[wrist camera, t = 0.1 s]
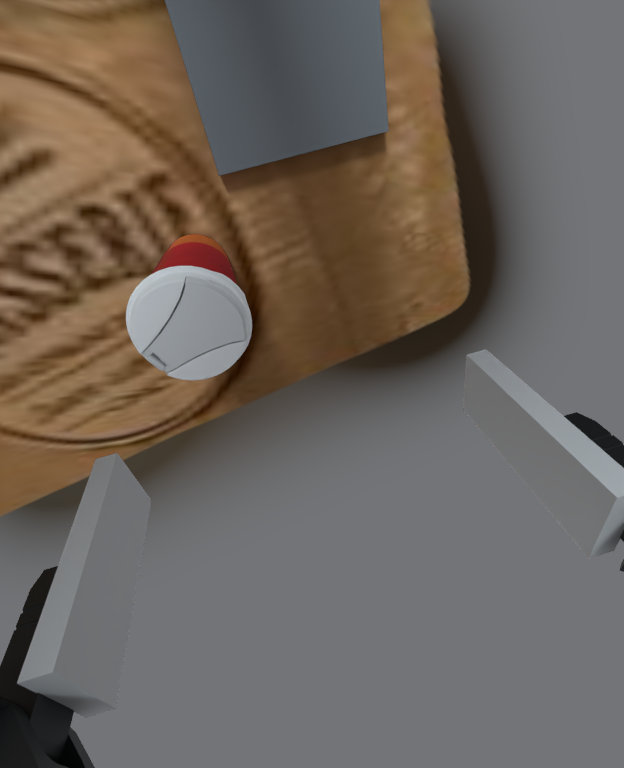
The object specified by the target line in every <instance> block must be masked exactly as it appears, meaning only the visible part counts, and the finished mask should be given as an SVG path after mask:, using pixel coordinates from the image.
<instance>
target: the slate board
mask: <svg viewBox="0 0 624 768" xmlns="http://www.w3.org/2000/svg"><path fill="white" fill-rule="evenodd" d="M165 3H166V6H167V9H168V12H169V16H170V19H171V22H172V25H173V29H174V32H175V35H176V38H177V41H178V45H179V48H180V51H181V54H182V57H183V61H184V64H185V67H186V70H187V74H188V77H189V80H190V83H191V86H192V90H193V93H194V96H195V99H196V103H197V106H198V109H199V112H200V115H201V119H202V122H203V125H204V128H205V132H206V135H207V138H208V141H209V144H210V148H211V151H212V154H213V157H214V161H215V164H216V167H217V170H218V173H219V176H220V175H224V174H228V173H232V172H235V171H239V170H243V169H247V168H251V167H254V166H258V165H262V164H266V163H270V162H273V161H277V160H281V159H285V158H289V157H292V156H296V155H300V154H304V153H308V152H311V151H315V150H319V149H323V148H327V147H330V146H334V145H338V144H342V143H346V142H349V141H353V140H357V139H361V138H365V137H368V136H372V135H376V134H380V133H384V132H387V131H389V130H388V116H387V102H386V88H385V73H384V59H383V45H382V31H381V17H380V2H379V0H165Z"/></svg>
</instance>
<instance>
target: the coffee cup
mask: <svg viewBox="0 0 624 768" xmlns="http://www.w3.org/2000/svg"><path fill="white" fill-rule="evenodd" d="M126 324H127V329H128V333H129V335H130V338H131V340H132V342H133V344H134V345H135V347H136V349H137V350H138V352H139V354H140V353H141V354H142V356H144V357H145V358H146V360H148V361H149V362H150V363H151V364H153V365H154V366H155V367H157V368H158V369H159V370H163V371H164V372H166V373H167V375H168V376H171V377H174V378H178V379H183V380H201V379H207V378H210V377H214V376H216V375H218V374H221V373H223V372H224V371H226V370H227V369H229V368H230V367H231V366H232V365H233V364H234V363H235V362H236V361H237V360H238V359H239V358H240V356H241V355H242V354H243V353H244V351H245V349H246V348H247V346H248V344H249V341H250V338H251V333H252V318H251V312H250V309H249V307H248V304H247V301H246V297H245V294H244V293H243V292H242V290H241V289H240V288H239V286H237V283H236V280H235V277H234V274H233V270H232V267H231V264H230V262H229V259H228V257H227V255H226V253H225V251H224V250H223V248H222V247H221V246H220V245H219V244H218V243H217V242H216V241H214V240H213V239H211V238H209V237H207V236H204V235H199V234H190V235H186V236H183V237H181V238H179V239H177V240H176V241H175V242H174V243H173V244H172V245H171V246H170V247H169V248H168V250H167V251H166V252H165V254H164V255H163V257H162V258H161V260H160V261H159V263H158V265H157V266H156V268H155V269H154V271H153V272H152V274H151V275H149V276H148V277H147V278H145V279H144V280H143V281H142V282H141V283H140V284H139V285H138V286H137V287H136V288H135V290H134V292H133V293H132V295H131V297H130V299H129V302H128V305H127V311H126Z"/></svg>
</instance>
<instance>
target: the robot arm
mask: <svg viewBox="0 0 624 768" xmlns="http://www.w3.org/2000/svg"><path fill="white" fill-rule="evenodd" d="M463 410H464V412H465V413H466V414H467V415H468V416H469V417H470V419H471V420H472V421H473V422H474V424H475V425H476V426H477V427H478V428H479V429H480V430H481V432H482V433H483V434H484V435H485V436H486V438H487V439H488V440H489V441H490V442H491V444H492V445H493V446H494V447H495V448H496V450H497V451H498V452H499V453H500V454H501V456H502V457H503V458H504V459H505V460H506V462H507V463H508V464H509V465H510V466H511V467H512V469H513V470H514V471H515V472H516V473H517V474H518V475H519V477H520V478H521V479H522V481H523V482H524V483H525V484H526V485H527V486H528V488H529V489H530V490H531V491H532V492H533V493H534V495H535V496H536V497H537V498H538V499H539V501H540V502H541V503H542V504H543V505H544V507H545V508H546V509H547V510H548V511H549V513H550V514H551V515H552V516H553V517H554V519H555V520H556V521H557V522H558V523H559V524H560V526H561V527H562V528H563V529H564V530H565V532H566V533H567V534H568V535H569V536H570V537H571V539H572V540H573V541H574V542H575V543H576V545H577V546H578V547H579V548H580V549H581V550H582V552H583V553H584V554H585V555H586V557H587V558H592V557H595V556H598V555H601V554H604V553H607V552H611V551H614V549H615V547H616V545H617V544H618V542H619V540H620V538H621V539H622V540H623V541H624V445H623V443H622V442H621V441H620V440H618V439H617V438H616V437H615V436H611V434H610V432H608V431H607V430H606V429H604V428H603V427H602V426H601V425H600V424H598V423H597V422H596V421H594V420H592V419H589V418H588V417H585V416H583V415H581V414H579V413H573V414H569V415H566V416H563V415H562V414H560V413H559V412H558V411H557V410H556V409H555V408H553V407H552V406H551V405H550V404H549V403H548V402H546V401H545V400H544V399H543V398H542V397H541V396H540V395H538V394H537V393H536V392H535V391H534V390H533V389H531V388H530V387H529V386H528V385H527V384H526V383H524V382H523V381H522V380H521V379H520V378H519V377H517V376H516V375H515V374H514V373H513V372H512V371H511V370H509V369H508V368H507V367H506V366H505V365H503V364H502V363H501V362H500V361H499V360H498V359H497V358H495V357H494V356H493V355H492V354H491V353H490V352H488V351H487V350H482V351H479V352H475V353H471V354H468V355H467V358H466V374H465V388H464V405H463ZM150 505H151V499H150V498H149V497H148V495H147V494H146V492H145V491H144V489H143V488H142V487H141V485H140V484H139V483H138V481H137V480H136V478H135V477H134V476H133V474H132V473H131V472H130V470H129V469H128V467H127V466H126V465H125V463H124V462H123V460H122V459H121V458H120V456H119V455H118V453H116V454H112V455H109V456H105V457H102V458H98V459H96V460H95V463H94V466H93V468H92V471H91V474H90V477H89V480H88V483H87V486H86V488H85V491H84V494H83V497H82V500H81V503H80V506H79V508H78V511H77V514H76V517H75V520H74V522H73V525H72V528H71V531H70V534H69V537H68V539H67V543H66V545H65V548H64V551H63V554H62V556H61V559H60V562H59V565H58V566H57V567H53V568H50V569H46V570H44V571H43V573H42V574H41V576H40V577H39V579H38V580H37V581H36V583H35V584H34V585H33V587H32V588H31V590H30V592H29V595H28V597H27V600H26V602H25V605H24V607H23V613H22V614H21V615H20V617H19V620H18V623H17V625H16V628H17V629H16V630H15V631H14V633H13V635H12V638H11V640H10V643H9V646H8V648H7V651H6V653H5V656H4V658H3V661H2V663H1V666H0V768H95V767H94V766H93V764H92V762H91V760H90V758H89V756H88V754H87V753H86V751H85V749H84V747H83V745H82V744H81V741H80V740H79V738H78V736H77V734H76V733H75V731H74V730H73V729H72V728H71V727H70V725H71V721H72V716H73V712H76V713H78V714H80V715H82V716H84V717H86V718H87V717H90V716H93V715H96V714H100V713H103V712H106V711H109V710H112V709H115V708H116V705H117V699H118V693H119V687H120V681H121V675H122V669H123V664H124V658H125V652H126V646H127V640H128V634H129V628H130V622H131V617H132V611H133V605H134V598H135V593H136V587H137V580H138V575H139V569H140V564H141V558H142V552H143V546H144V540H145V534H146V528H147V522H148V516H149V510H150ZM620 570H621V571H624V560H623V562H622V563H621V568H620Z"/></svg>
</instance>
